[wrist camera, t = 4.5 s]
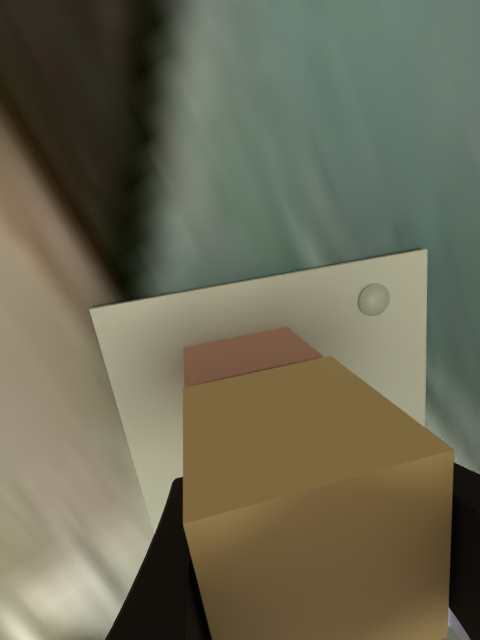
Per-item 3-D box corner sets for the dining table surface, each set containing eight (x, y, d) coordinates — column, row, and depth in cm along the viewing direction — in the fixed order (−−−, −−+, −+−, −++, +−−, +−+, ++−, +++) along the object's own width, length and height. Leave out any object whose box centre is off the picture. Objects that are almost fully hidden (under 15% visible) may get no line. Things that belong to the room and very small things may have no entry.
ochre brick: (340, 478, 12) (447, 636, 7) (210, 513, 11) (231, 715, 6) (330, 355, 11) (454, 449, 6) (182, 388, 10) (182, 524, 5)
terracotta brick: (297, 417, 16) (332, 470, 13) (203, 440, 16) (209, 503, 12) (287, 326, 15) (323, 355, 11) (183, 347, 14) (184, 386, 11)
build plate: (419, 476, 20) (427, 483, 19) (161, 550, 17) (160, 560, 17) (421, 249, 16) (430, 249, 15) (92, 307, 14) (88, 310, 13)
